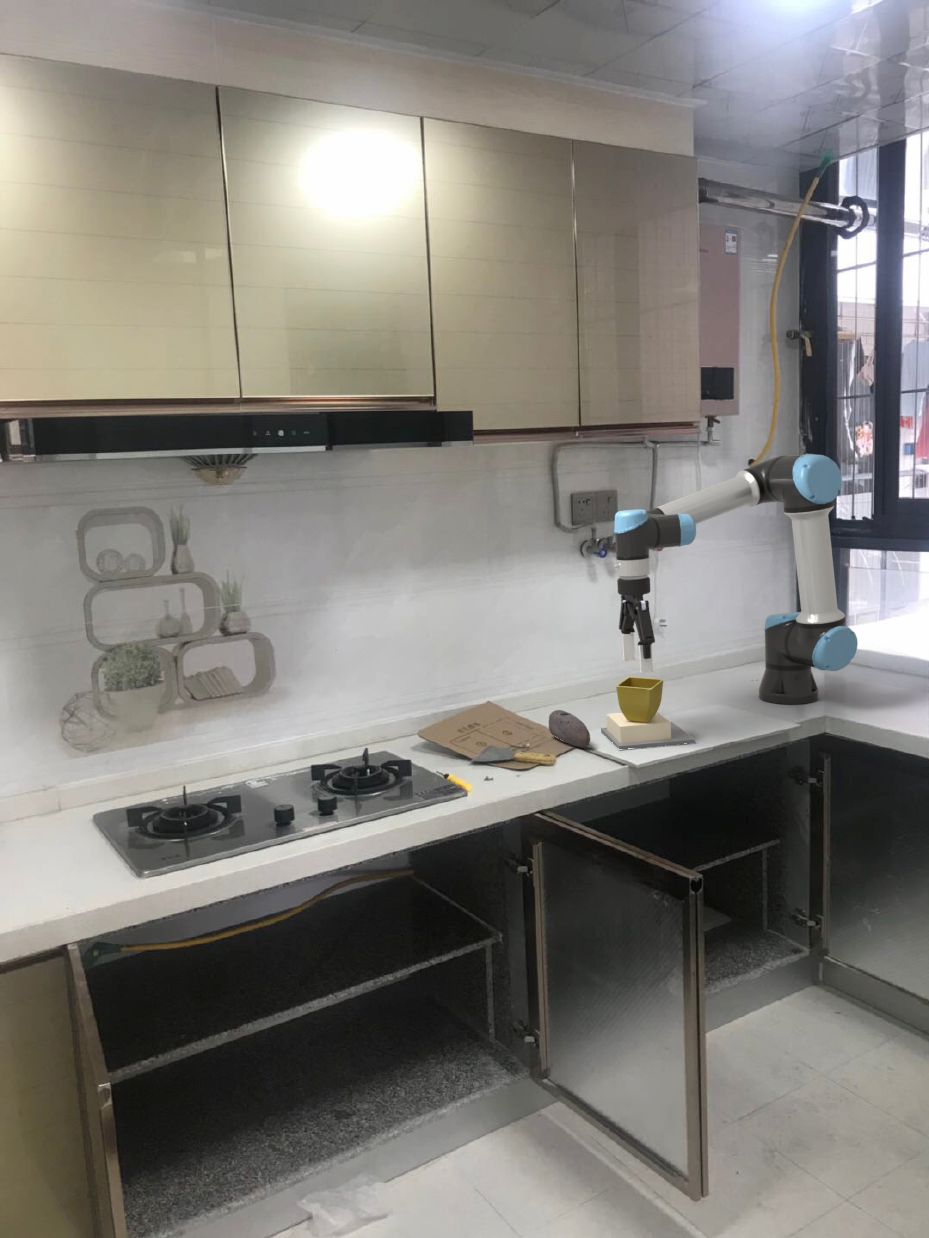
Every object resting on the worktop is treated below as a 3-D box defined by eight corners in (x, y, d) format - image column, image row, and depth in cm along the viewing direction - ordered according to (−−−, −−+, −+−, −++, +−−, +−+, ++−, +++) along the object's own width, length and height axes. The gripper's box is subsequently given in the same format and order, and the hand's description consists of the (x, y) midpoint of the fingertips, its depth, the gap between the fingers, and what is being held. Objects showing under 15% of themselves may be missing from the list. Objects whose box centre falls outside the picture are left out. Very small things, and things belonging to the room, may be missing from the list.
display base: (671, 725, 236) (671, 705, 235) (694, 743, 220) (694, 722, 219) (601, 731, 234) (600, 712, 233) (619, 750, 218) (618, 729, 217)
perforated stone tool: (598, 749, 220) (596, 720, 219) (578, 753, 218) (576, 724, 217) (566, 734, 234) (564, 707, 233) (547, 738, 232) (545, 710, 231)
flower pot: (629, 711, 230) (628, 675, 228) (664, 715, 226) (663, 678, 224) (616, 722, 223) (615, 685, 221) (652, 726, 218) (651, 689, 216)
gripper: (603, 572, 232) (607, 657, 236) (633, 584, 208) (638, 679, 211) (633, 569, 233) (637, 654, 237) (666, 581, 209) (670, 675, 212)
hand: (637, 666), depth 224 cm, fingers open, 13 cm apart
